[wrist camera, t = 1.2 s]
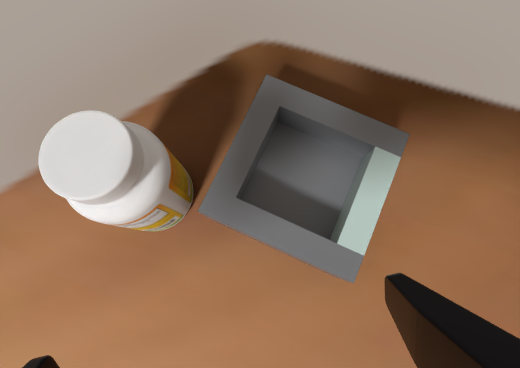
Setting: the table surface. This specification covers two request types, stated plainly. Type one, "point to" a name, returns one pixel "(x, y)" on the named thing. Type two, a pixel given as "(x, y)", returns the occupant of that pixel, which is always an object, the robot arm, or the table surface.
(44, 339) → the table surface
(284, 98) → the dock
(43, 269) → the table surface
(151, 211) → the supplement bottle
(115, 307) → the table surface
